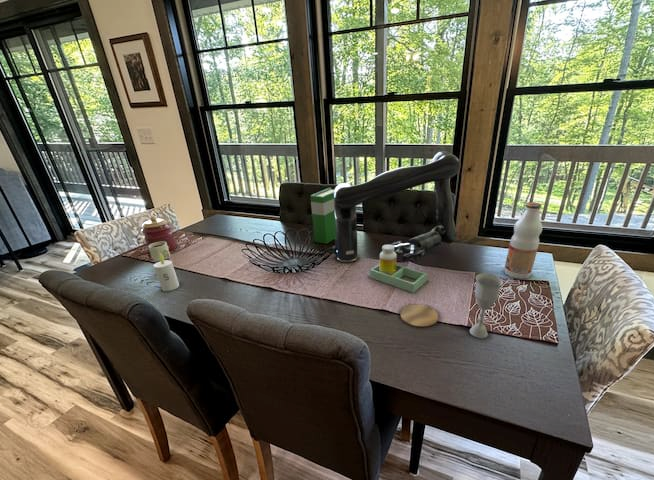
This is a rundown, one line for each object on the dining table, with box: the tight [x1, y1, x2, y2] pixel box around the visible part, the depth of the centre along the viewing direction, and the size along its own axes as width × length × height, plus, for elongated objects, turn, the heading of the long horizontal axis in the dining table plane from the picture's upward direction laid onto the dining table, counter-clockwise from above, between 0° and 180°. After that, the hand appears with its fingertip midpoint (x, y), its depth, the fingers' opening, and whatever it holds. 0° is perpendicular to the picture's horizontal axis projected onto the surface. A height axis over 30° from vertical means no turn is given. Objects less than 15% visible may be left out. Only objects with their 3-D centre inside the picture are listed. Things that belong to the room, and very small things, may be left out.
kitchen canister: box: [140, 216, 177, 253], centre depth 157 cm, size 13×13×18 cm
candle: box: [153, 252, 180, 292], centre depth 122 cm, size 6×6×15 cm
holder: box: [369, 263, 428, 293], centre depth 122 cm, size 20×10×4 cm, turn 50°
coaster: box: [399, 303, 439, 328], centre depth 101 cm, size 12×12×1 cm
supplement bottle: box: [378, 244, 398, 276], centre depth 123 cm, size 7×7×13 cm
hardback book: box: [309, 187, 336, 245], centre depth 161 cm, size 18×7×24 cm, turn 150°
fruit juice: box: [503, 201, 544, 280], centre depth 117 cm, size 9×9×28 cm
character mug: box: [147, 242, 171, 263], centre depth 135 cm, size 11×7×13 cm, turn 67°
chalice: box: [469, 273, 504, 339], centre depth 88 cm, size 7×7×18 cm
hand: (395, 255), depth 124 cm, fingers open, 8 cm apart
